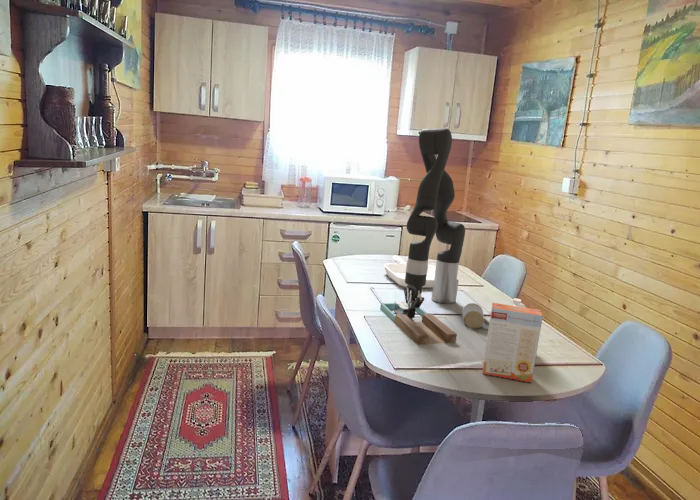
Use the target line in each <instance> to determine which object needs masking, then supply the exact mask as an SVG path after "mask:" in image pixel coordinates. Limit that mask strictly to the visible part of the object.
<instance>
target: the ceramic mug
mask: <svg viewBox="0 0 700 500" xmlns="http://www.w3.org/2000/svg"><path fill="white" fill-rule="evenodd" d="M461 315H462V321H463V323H464V325H465V326H466V327H467V328H468V327H469V328H471V329H473V330H477V329H479V328H483V329H485V330H488V329H489V323H490V321H488V320H487V319H486V318H485V316H484V311H483V308H482V307H481V306H480V305H479V304H477V303H472V302H471V303H467V304H466V305H464V307H463V308H462V310H461Z"/></svg>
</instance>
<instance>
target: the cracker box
mask: <svg viewBox="0 0 700 500" xmlns="http://www.w3.org/2000/svg"><path fill="white" fill-rule="evenodd" d="M543 317H544V315H543V312H542V310H541V309H536V308H530V307H526V308H524V307H517V306H513V305H509V304H504V303H498V302H492V304H491V310H490V317H489V329H487V331H488V332H487V338H486V344H485V351H484V355H483V356H484V357H483V363H482V364H483V365H482V375H485V374H487V375H486V376H490V375H494V376H493V377H496V376H499V377H498V378H501V377H504V378H503V379H507V378H510V379H509V380H512V379H515V380H514V381H518V380H520V381H519V382H523V381H525V382H524V383H528V382H530V383H529V384H531V383H532V381H533V375H534V369H535V363H536V360H537V359H536V357H537V354H538V353H537V352H538V346H539V341H540V335H541V330H542V323H543Z"/></svg>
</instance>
